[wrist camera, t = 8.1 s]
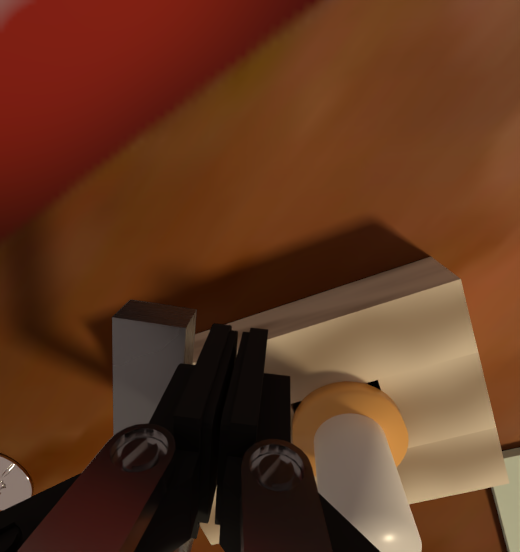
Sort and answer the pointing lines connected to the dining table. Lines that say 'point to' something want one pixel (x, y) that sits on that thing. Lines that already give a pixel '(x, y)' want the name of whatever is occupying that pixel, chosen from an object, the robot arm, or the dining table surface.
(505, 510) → the mat
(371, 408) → the plug
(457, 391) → the socket block
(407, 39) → the dining table surface
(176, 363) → the grey bar
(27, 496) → the wineglass
